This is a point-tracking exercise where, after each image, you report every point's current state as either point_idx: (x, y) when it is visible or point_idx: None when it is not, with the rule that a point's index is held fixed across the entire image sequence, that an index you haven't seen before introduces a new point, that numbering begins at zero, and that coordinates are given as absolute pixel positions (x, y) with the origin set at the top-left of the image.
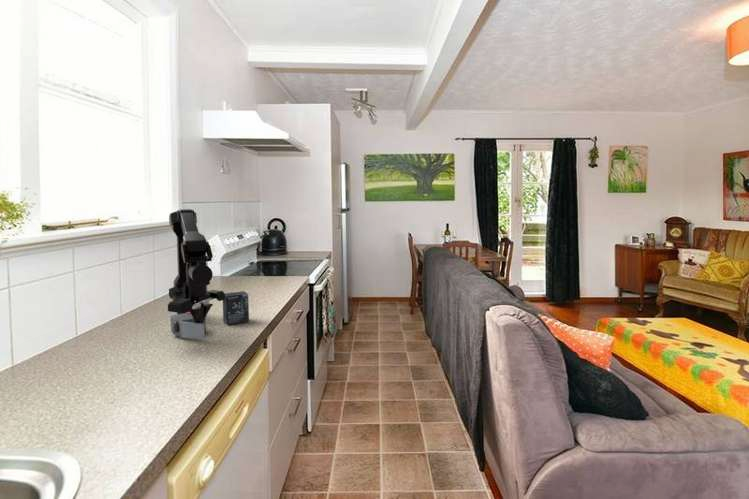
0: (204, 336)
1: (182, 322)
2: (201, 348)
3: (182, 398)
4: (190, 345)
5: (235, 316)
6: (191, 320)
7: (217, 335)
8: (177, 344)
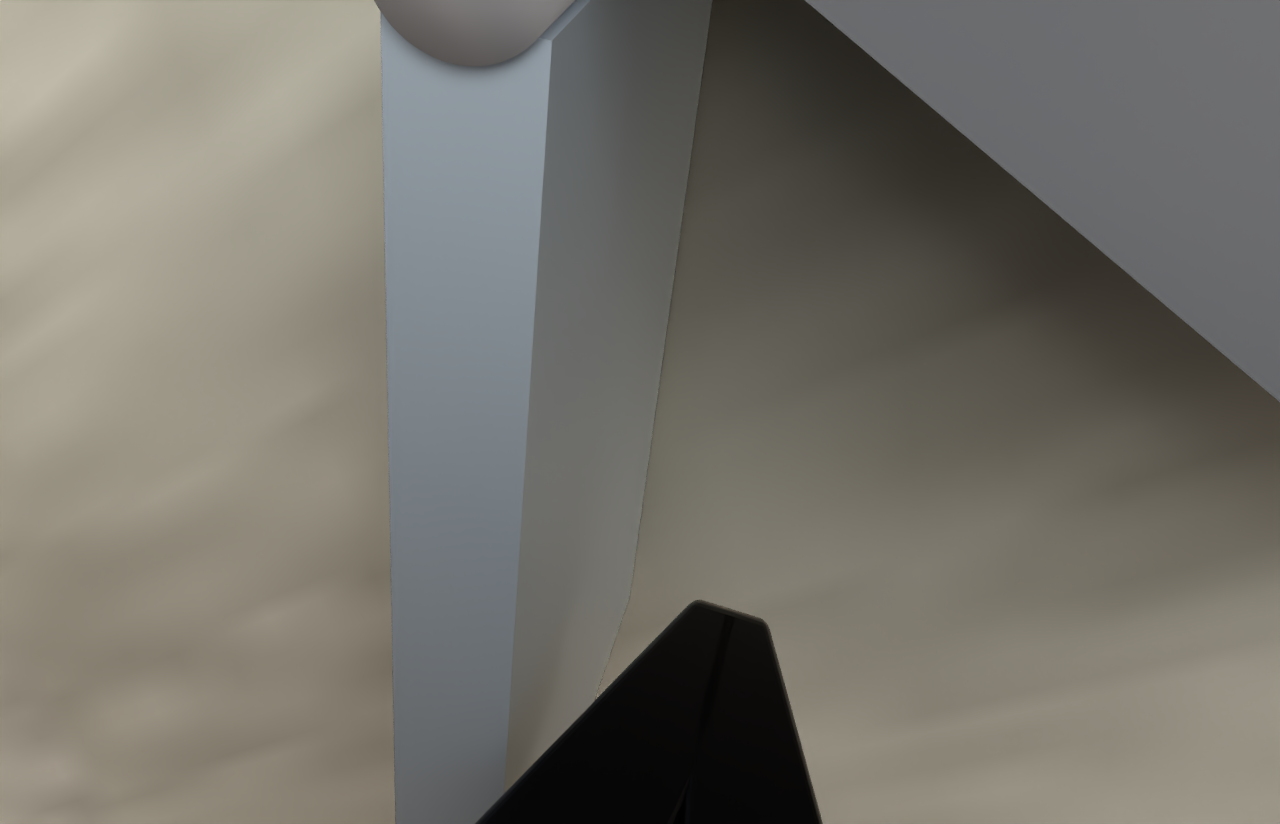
0: (607, 646)
1: (391, 125)
2: (174, 668)
3: None
4: (227, 404)
5: None
6: (1182, 285)
7: (1095, 713)
8: (153, 25)
